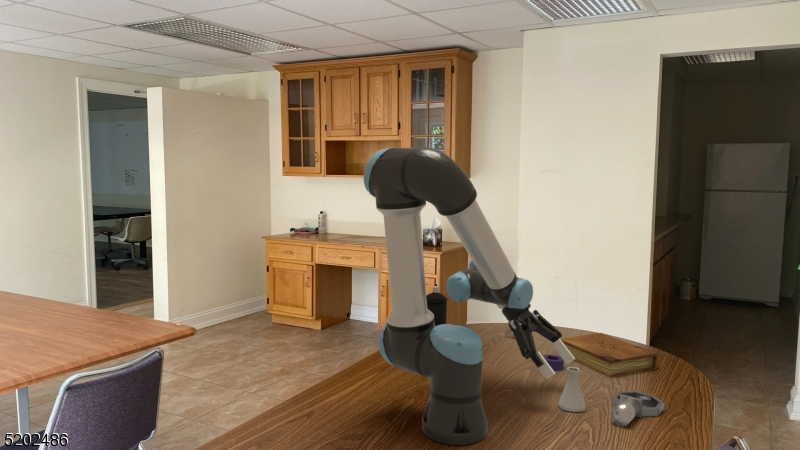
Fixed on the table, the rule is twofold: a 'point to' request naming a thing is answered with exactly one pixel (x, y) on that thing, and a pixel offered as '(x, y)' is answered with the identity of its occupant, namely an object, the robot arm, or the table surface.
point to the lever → (555, 362)
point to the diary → (610, 354)
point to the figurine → (509, 331)
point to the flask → (572, 393)
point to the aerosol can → (437, 306)
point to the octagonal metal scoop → (634, 406)
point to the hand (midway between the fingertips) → (561, 368)
